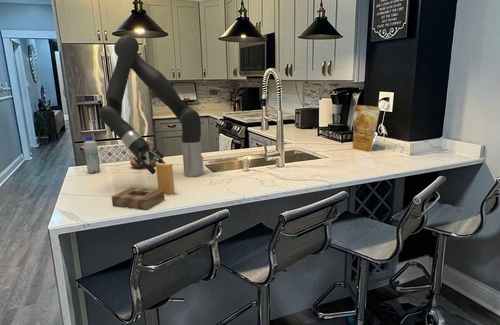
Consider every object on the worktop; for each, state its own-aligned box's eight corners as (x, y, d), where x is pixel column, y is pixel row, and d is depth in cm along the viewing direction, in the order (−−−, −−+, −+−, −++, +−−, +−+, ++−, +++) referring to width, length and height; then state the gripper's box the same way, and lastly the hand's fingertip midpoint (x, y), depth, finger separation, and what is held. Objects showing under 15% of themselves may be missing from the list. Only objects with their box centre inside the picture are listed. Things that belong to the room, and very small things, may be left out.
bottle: (90, 171, 192) (84, 135, 187) (102, 170, 192) (97, 134, 187) (85, 174, 185) (80, 137, 180) (98, 173, 186) (93, 136, 181)
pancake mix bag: (355, 146, 237) (357, 104, 230) (378, 151, 221) (381, 106, 214) (348, 147, 233) (350, 105, 227) (371, 152, 217) (373, 107, 211)
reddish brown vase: (160, 167, 195) (158, 142, 192) (134, 171, 188) (131, 145, 185) (152, 162, 210) (150, 138, 207) (127, 165, 203) (124, 141, 200)
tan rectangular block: (158, 193, 151) (155, 164, 147) (162, 191, 153) (160, 163, 150) (170, 195, 149) (168, 165, 146) (174, 192, 151) (172, 163, 148)
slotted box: (112, 205, 138) (111, 196, 137) (132, 196, 149) (131, 187, 148) (146, 210, 132) (145, 200, 131) (164, 199, 143) (163, 190, 142)
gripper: (128, 139, 142) (155, 168, 141) (149, 134, 155) (174, 160, 154) (119, 152, 145) (145, 180, 144) (140, 145, 158) (165, 171, 157)
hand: (160, 170), depth 149 cm, fingers open, 8 cm apart
